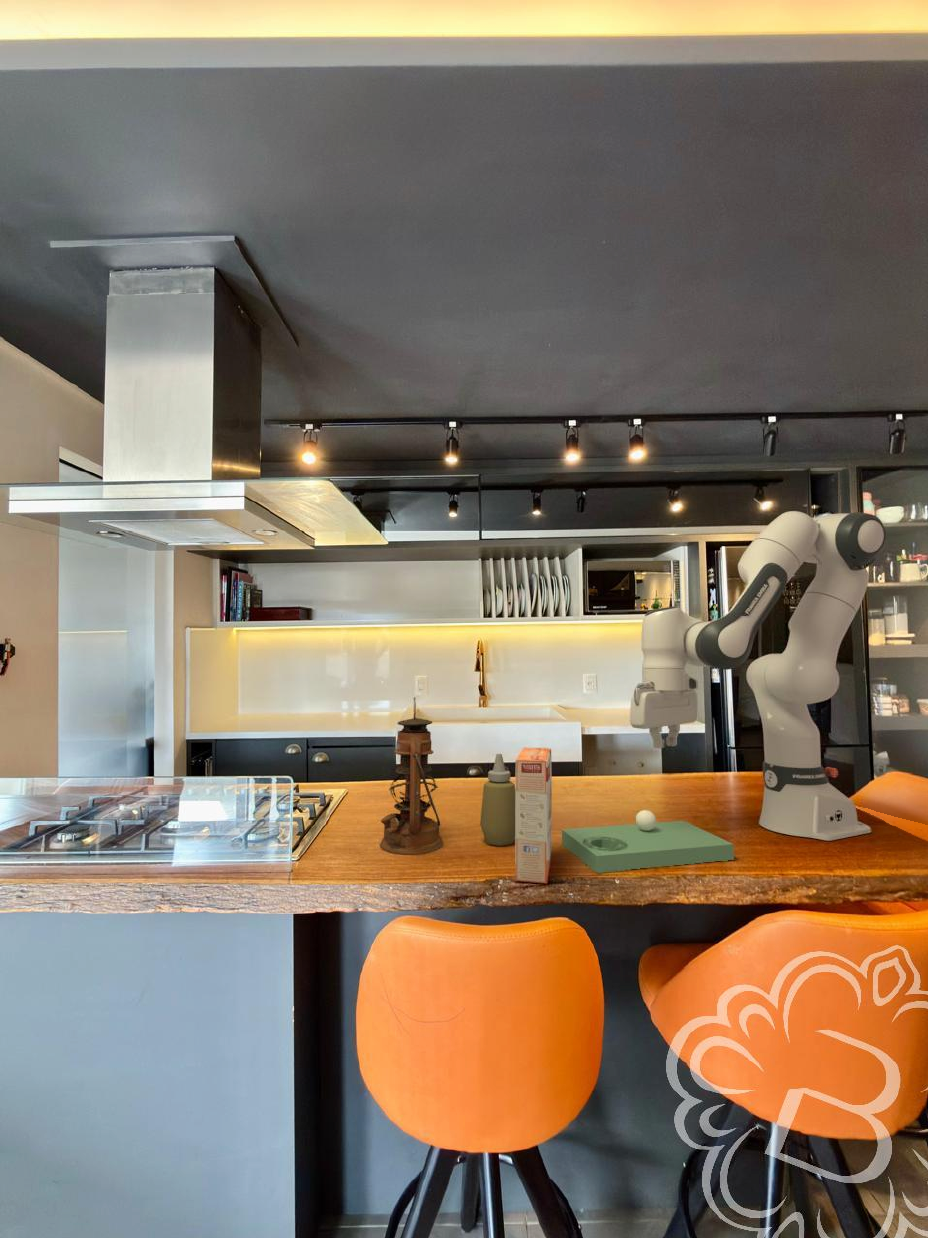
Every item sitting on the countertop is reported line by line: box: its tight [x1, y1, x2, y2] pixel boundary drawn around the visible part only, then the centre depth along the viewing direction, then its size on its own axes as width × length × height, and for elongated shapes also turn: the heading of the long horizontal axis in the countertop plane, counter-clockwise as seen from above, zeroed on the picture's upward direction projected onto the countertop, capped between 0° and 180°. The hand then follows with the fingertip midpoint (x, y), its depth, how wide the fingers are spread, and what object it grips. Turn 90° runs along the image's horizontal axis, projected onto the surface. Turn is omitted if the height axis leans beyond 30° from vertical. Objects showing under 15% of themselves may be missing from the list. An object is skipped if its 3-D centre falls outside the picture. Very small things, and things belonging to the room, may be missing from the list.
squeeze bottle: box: [479, 753, 515, 846], centre depth 119 cm, size 8×8×18 cm
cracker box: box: [514, 747, 553, 884], centre depth 104 cm, size 14×6×21 cm, turn 168°
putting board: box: [561, 820, 735, 874], centre depth 112 cm, size 28×16×3 cm, turn 103°
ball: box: [635, 809, 657, 831], centre depth 117 cm, size 4×4×4 cm
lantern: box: [379, 697, 444, 856], centre depth 119 cm, size 17×13×30 cm
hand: (665, 746), depth 122 cm, fingers open, 3 cm apart
